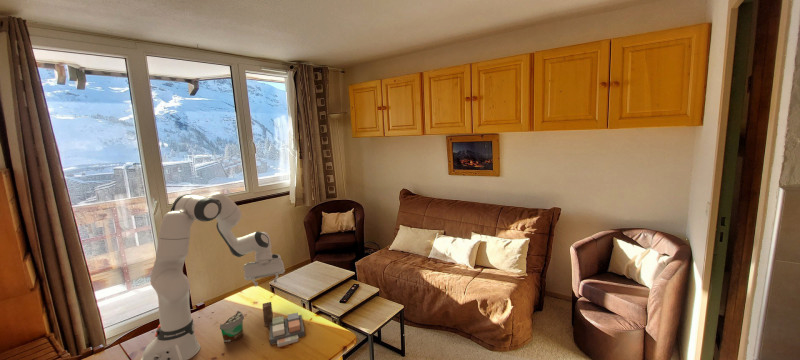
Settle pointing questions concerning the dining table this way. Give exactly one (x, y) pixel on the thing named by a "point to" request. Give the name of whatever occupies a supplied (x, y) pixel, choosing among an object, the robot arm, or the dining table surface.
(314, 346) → the dining table surface
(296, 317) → the key slate
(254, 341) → the dining table surface
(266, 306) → the dark brown block
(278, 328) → the key cream
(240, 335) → the food container
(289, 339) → the keypad
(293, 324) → the key terracotta
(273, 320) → the key sage
